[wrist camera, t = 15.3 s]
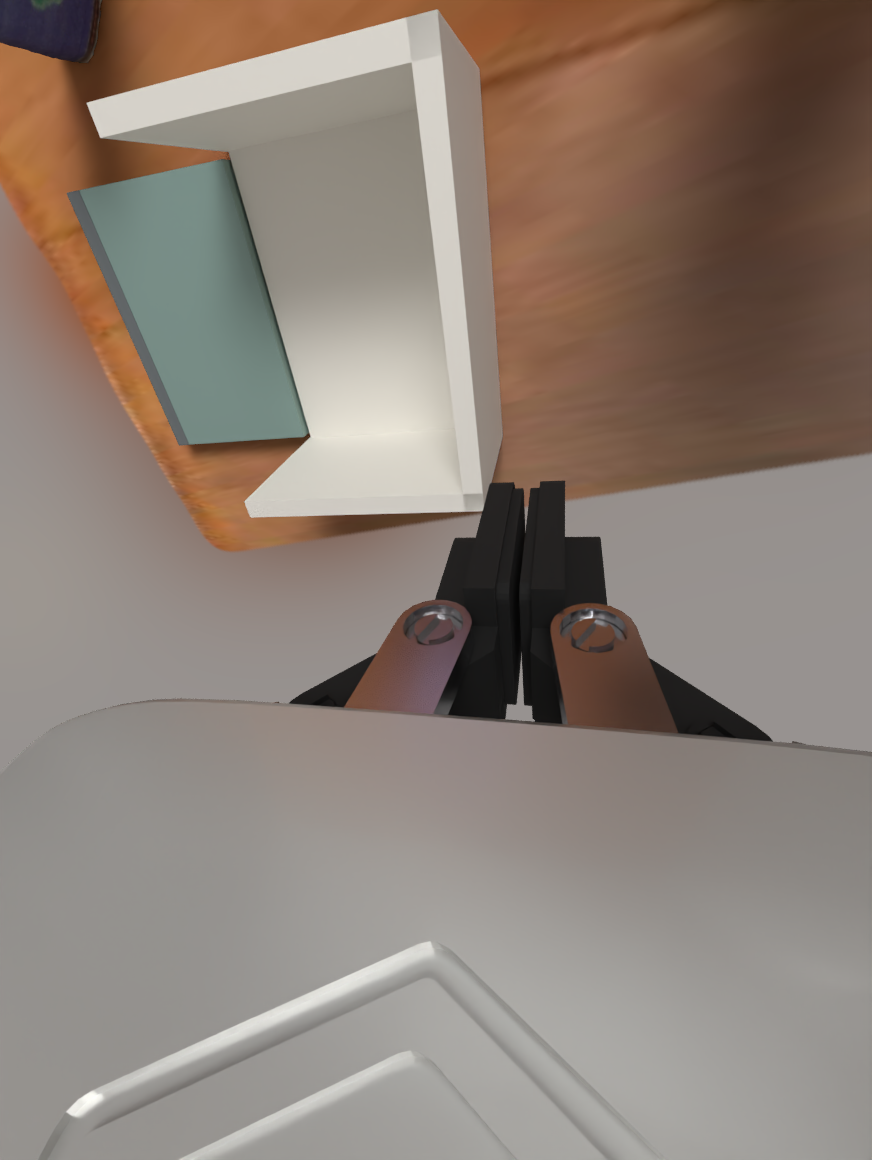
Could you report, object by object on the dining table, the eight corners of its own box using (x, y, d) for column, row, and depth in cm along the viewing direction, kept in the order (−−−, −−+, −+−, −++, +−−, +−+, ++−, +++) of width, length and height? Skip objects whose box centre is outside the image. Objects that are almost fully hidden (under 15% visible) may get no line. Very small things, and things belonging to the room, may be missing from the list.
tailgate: (221, 159, 32) (66, 193, 35) (303, 437, 42) (179, 445, 45) (232, 160, 33) (80, 192, 36) (310, 431, 43) (187, 439, 46)
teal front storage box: (479, 68, 28) (437, 9, 19) (502, 436, 40) (484, 511, 31) (225, 127, 32) (86, 102, 23) (316, 447, 44) (250, 517, 35)
